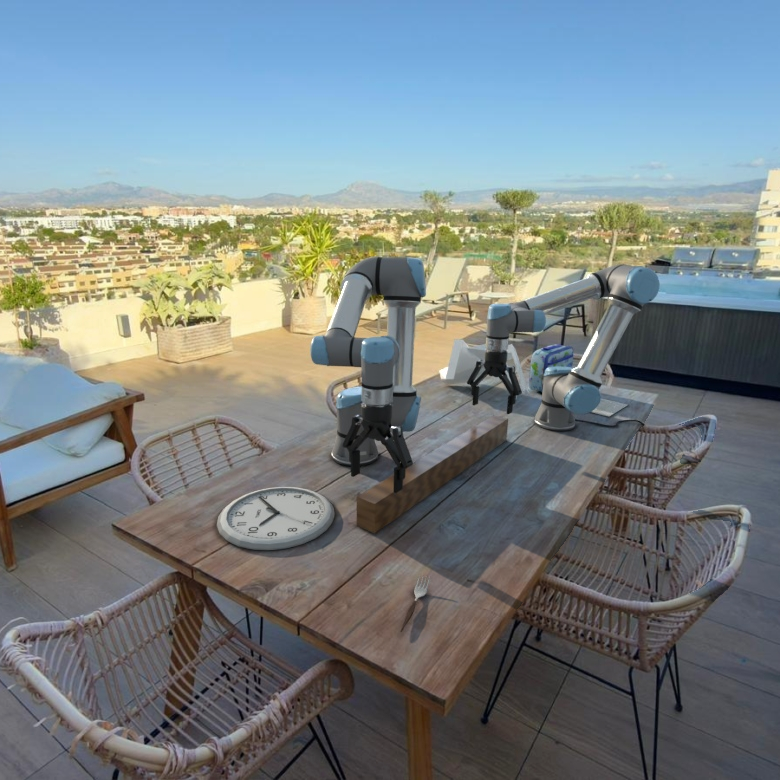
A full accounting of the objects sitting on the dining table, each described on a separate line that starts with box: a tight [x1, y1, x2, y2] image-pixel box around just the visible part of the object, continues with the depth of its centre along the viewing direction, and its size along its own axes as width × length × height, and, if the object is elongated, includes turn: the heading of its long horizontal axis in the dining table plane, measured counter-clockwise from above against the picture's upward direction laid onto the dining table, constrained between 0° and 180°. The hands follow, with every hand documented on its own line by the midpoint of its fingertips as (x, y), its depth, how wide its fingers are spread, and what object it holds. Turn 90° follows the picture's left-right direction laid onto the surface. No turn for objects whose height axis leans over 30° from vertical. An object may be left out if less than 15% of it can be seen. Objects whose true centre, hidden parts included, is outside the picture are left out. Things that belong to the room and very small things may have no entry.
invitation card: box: [590, 398, 629, 418], centre depth 226 cm, size 21×1×15 cm
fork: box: [400, 573, 431, 633], centre depth 105 cm, size 3×16×2 cm, turn 160°
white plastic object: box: [438, 338, 531, 399], centre depth 245 cm, size 37×45×31 cm
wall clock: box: [216, 486, 336, 551], centre depth 136 cm, size 30×2×30 cm
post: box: [356, 414, 509, 535], centre depth 160 cm, size 77×6×8 cm, turn 143°
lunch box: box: [528, 344, 574, 393], centre depth 247 cm, size 26×11×21 cm, turn 134°
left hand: (376, 482), depth 131 cm, fingers open, 13 cm apart
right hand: (491, 408), depth 184 cm, fingers open, 13 cm apart
